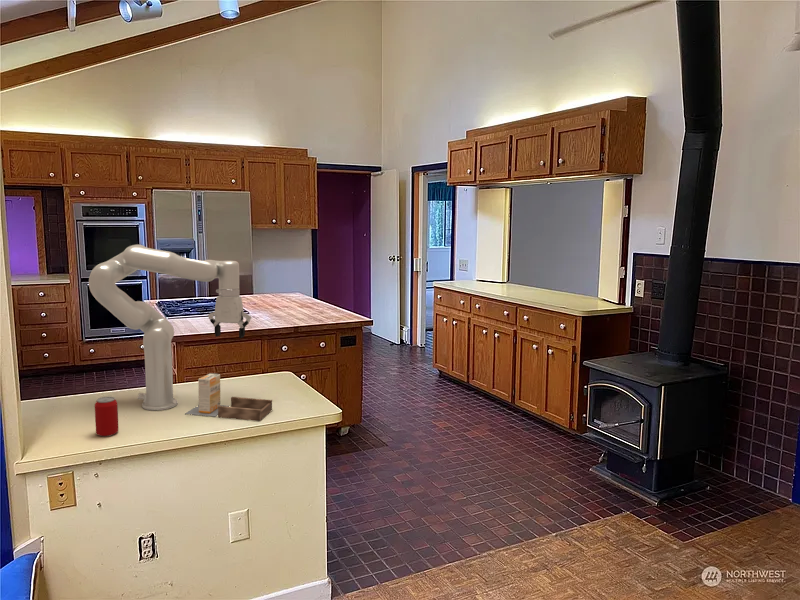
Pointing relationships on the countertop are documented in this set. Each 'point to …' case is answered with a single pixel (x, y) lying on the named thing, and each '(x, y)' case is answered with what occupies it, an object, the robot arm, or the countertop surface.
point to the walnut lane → (246, 409)
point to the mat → (196, 412)
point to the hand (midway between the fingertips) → (229, 336)
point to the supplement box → (209, 393)
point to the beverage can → (106, 416)
